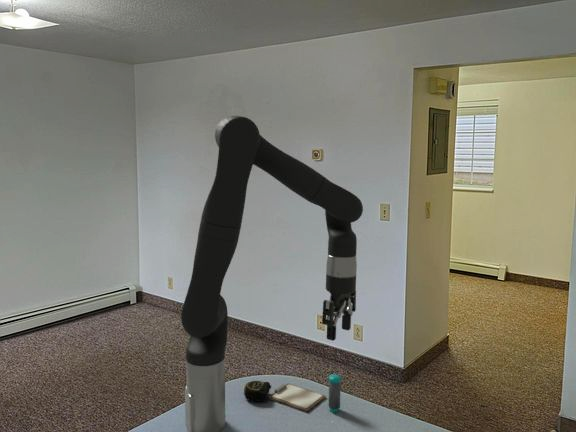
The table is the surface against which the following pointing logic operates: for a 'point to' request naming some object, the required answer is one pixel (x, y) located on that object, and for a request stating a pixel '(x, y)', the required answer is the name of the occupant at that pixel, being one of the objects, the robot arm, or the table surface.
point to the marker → (334, 392)
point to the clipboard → (296, 397)
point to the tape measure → (257, 391)
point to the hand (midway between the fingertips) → (338, 334)
